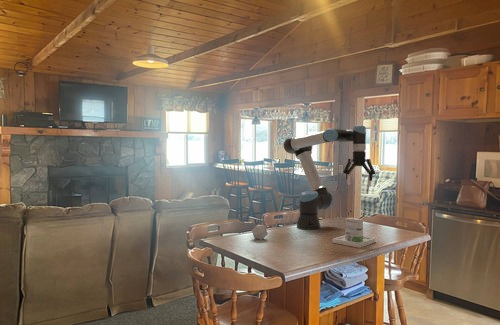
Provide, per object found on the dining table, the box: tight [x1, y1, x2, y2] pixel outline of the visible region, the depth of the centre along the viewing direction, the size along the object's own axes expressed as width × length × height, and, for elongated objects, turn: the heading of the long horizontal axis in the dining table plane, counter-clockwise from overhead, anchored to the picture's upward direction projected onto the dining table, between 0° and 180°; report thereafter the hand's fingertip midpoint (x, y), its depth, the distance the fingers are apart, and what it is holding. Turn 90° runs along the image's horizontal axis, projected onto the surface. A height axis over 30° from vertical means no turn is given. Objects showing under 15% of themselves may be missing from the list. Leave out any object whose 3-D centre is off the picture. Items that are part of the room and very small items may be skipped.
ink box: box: [344, 217, 364, 242], centre depth 206 cm, size 9×5×12 cm, turn 40°
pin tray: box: [332, 234, 377, 248], centre depth 206 cm, size 16×18×5 cm
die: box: [251, 224, 269, 241], centre depth 213 cm, size 8×9×10 cm
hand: (358, 185), depth 234 cm, fingers open, 13 cm apart
